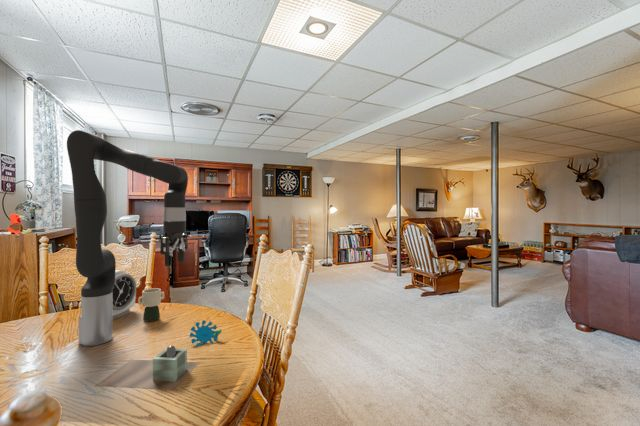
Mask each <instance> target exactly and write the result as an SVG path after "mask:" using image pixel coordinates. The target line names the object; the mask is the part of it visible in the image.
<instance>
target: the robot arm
mask: <svg viewBox="0 0 640 426" xmlns="http://www.w3.org/2000/svg"><path fill="white" fill-rule="evenodd" d="M66 150H67V155H68V161H69V163H70V171H71V178H72V189H73V205H74V206H73V207H74V215H75V229H76V250H75V251H76V252H75V267H76V270H77V273H78V274H79V275H80V276H82V277H84V278H86V282H85V283H84V285H83V286H82V288H81V289H80V290H81V291H80V302H81V303H80V305H81V306H80V309H81V310H80V313H81V315H80V316H78V344H79V345H82V346H84V347H92V346H98V345H102V344H106V343H108V342H110V341H111V340H113V338H114V335H113V333H114V331H113V330H114V325H113V324H114V323H113V322H114V321H113V320H114V319H113V285H114V283H115V270H116V267H117V265H116V263H117V262H116V257H115V254H114V253H113V252H112V251H111V250H110V249H107V248H102V242H101V238H102V231H103V228H104V226H105V222H106V218H107V214H108V206H107V196H106V195H107V194H106V193H105V190H104V187H103V185H102V184H101V181H100V180H99V178H98V175H97V173H96V169H95V160H98V161H101V162H102V161H103V162H108V163H113V164H115V165H119V166H122V167H124V168H125V169H127V170H130V171H132V172H134V173H136V174H137V173H138V174H140V175H143V176H147V177H150V178H154V179H156V180H157V181H161V182H163V183H165V184H168V188H167V191H166V192H165V193H164V198H163V204H164V205H163V207H164V208H163V215H162V217H163V225H162V227H163V233H164V234H166V236H164V237H163V236H161V237H160V247H159V248H160V250H159V251H160V252H159V253H160V255H163V256H164V266H165V267H171V266H172V265H173V252H174V251H175V250H177V262H179V263H181V262H182V263H183V262H184V261H185V252H186V250H188V246H189V242H188V234H187V233H186V232H187V213H186V192H187V190H188V189H187V188H188V181H189V177H188V172H187V171H186V170H185V168H184V167H181V166H179V165H175V164H172V163H169V162H165V161H161V160H159V159H157V158H155V157H153V156H150V155H146V154H144V153H140V152H137V151H134V150H133V151H132V150H129V149H125V148H123V147H120V146H117V145H115V144H113V143H111V142H110V141H108V140H105V139H104V138H103V137H100V136H99V135H97V134H94V133H92V132H89V131H87V130H86V131H85V130H81V129H76V130H73V131H71V132H70V134H69V135H68V137H67V139H66Z"/></svg>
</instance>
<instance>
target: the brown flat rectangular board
mask: <svg viewBox="0 0 640 426" xmlns="http://www.w3.org/2000/svg"><path fill="white" fill-rule="evenodd" d="M199 364H200V362H194V361H187V370H186V371H185V372H184V373H183V374H182V375H181V376H180V377H179V378H178V379H177V380H176V381H175V382H172V381H153V359H152V360H151V359H129V360H128V361H127V362H125V364H123V365H121V366H120V367H119V368H117V369H116V370H115V371H114V372H112V373H110V374H109V375H108V376H106V377H105V378H104V379H102V380H101V381H99V382H98V383H97V384H96V385H95V387H110V388H111V387H112V388H126V389H127V388H128V389H129V388H130V389H131V388H132V389H147V390H149V389H150V390H166V391H167V390H168V391H170V390H171V391H175V390H176V389H177V388H178V387H179V386H180V384H181V383H182V382H183V381H184V380H185V379H186V378H187V377H188V376H189V375H190V374H191V372H193V370H194V369H195V368H196V367H197V366H198V365H199Z"/></svg>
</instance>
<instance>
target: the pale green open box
mask: <svg viewBox="0 0 640 426" xmlns="http://www.w3.org/2000/svg"><path fill="white" fill-rule="evenodd" d="M167 348H168V347H166V348H164V349H163V350H162V351H161V352H159V353H158V354H157V355H156V356H154V357H153V358H152V360H153V381H172V382H175V381H176V380H177V379H178V378H179V377H180V376H181V375H182V374H183V373H184V372H185V371H186V370H187V362H188V349H186V348H176V356H175V357H174V358H166V350H167Z"/></svg>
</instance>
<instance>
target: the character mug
mask: <svg viewBox="0 0 640 426" xmlns="http://www.w3.org/2000/svg"><path fill="white" fill-rule="evenodd" d="M164 299H165V291H162V289H161V288H158V287H157V288H156V287H153V288H146V289H143V290H142V292H141V296H139V297H137V304H138V305H139V306H141V305H142V306H143V307H144V312H143V320H142V321H146V322H154V321H157V320H160V318H161V316H160V315H161V314H160V309H159V306H160V305H161V302H162V300H164Z"/></svg>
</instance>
